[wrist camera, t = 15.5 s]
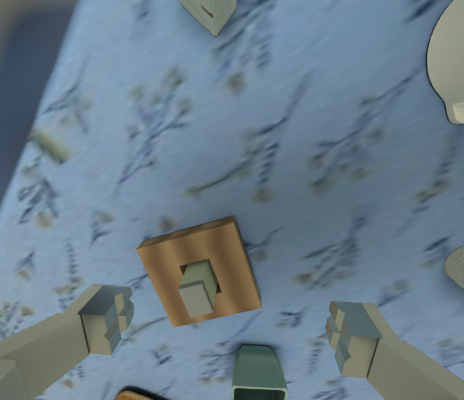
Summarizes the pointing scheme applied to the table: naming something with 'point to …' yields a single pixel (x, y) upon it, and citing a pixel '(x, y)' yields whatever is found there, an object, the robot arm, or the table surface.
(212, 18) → the skincare box
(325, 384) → the table surface
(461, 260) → the coffee cup
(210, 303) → the keyed peg
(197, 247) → the walnut slot block
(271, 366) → the flower pot
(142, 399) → the stone cup
